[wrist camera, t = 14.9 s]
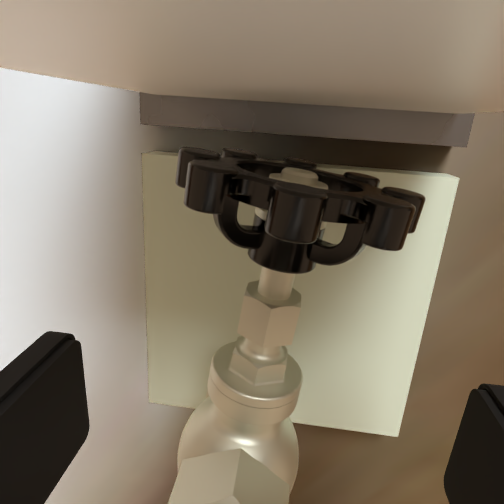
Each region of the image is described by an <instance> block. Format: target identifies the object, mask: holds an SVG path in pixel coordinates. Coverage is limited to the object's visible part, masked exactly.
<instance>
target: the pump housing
mask: <svg viewBox="0 0 504 504" xmlns="http://www.w3.org/2000/svg"><path fill="white" fill-rule="evenodd" d="M0 68H5V69H11V70H17V71H23V72H28V73H34V74H40V75H45V76H51V77H57V78H62V79H68V80H74V81H80V82H85V83H91V84H97V85H102V86H108V87H114V88H120V89H125V90H131V91H137V92H140V120H141V124H144V125H158V126H172V127H187V128H201V129H215V130H229V131H243V132H257V133H271V134H285V135H300V136H314V137H328V138H342V139H356V140H370V141H384V142H399V143H413V144H427V145H441V146H455V147H467V144H468V140H469V135H470V131H471V127H472V123H473V119H474V114H475V113H489V112H504V0H0Z"/></svg>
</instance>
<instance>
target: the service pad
mask: <svg viewBox="0 0 504 504" xmlns="http://www.w3.org/2000/svg"><path fill="white" fill-rule="evenodd" d="M141 154H142V188H143V221H144V255H145V289H146V322H147V356H148V390H149V403H156V404H163V405H171V406H178V407H185V408H192V409H196V408H197V407H198V405H199V404H200V403H202V402H203V401H204V400H205V399H206V394H207V389H208V388H207V384H208V378H209V372H210V366H211V361H212V357H213V355H214V353H215V352H216V351H217V350H218V349H219V348H220V347H222V346H224V345H225V344H227V343H231V342H234V341H237V338H238V337H239V336H242V335H240V334H238V333H237V330H238V325H239V320H240V314H241V309H242V304H243V299H244V294H245V291H246V287H247V284H248V282H252V281H257V280H260V275H261V270H262V266H260V265H258V264H257V263H255V262H254V261H252V260H251V259H250V258H249V256H248V249H244V248H241V247H238V246H235V245H233V244H232V243H231V242H229V241H228V240H227V239H226V238H225V237H224V236H223V235H222V233H221V232H220V231H219V229H218V228H217V226H216V224H215V222H214V218H213V214H207V213H202V212H198V211H194V210H192V209H189V208H188V207H186V206H185V205H184V194H185V189H184V188H181V187H179V186H177V185H176V183H175V180H176V171H177V162H178V153H173V152H160V151H151V152H146V153H141ZM220 157H221V156H220ZM271 161H277V160H271ZM278 162H283V161H278ZM315 164H316V163H315ZM316 165H317V168H316V169H319V170H323V171H327V172H331V173H336V174H342V175H344V173H345V172H356V173H361V174H366V175H370V176H373V177H376V178H378V179H379V180H380V184H379V187H378V188H383V187H396V188H401V189H406V190H410V191H413V192H417V193H419V194H422V195H424V196H425V198H426V200H425V203H424V206H423V209H422V212H421V215H420V218H419V221H418V224H417V227H416V230H415V232H414V233H411V234H407V237H406V240H405V243H404V246H403V248H402V249H401V250H399V251H386V250H380V249H376V248H373V247H370V246H367V245H366V247H365V248H364V250H363V251H362V252H361V253H360V254H359V255H358V256H356V257H354V258H353V259H351V260H349V261H347V262H345V263H342V264H339V265H333V266H327V265H321V264H317V263H316V267H315V268H314V270H312V271H311V272H308V273H303V274H296V275H295V279H294V283H293V287H292V288H294V289H295V290H297V291H298V292H299V293H301V309H300V313H299V317H298V321H297V325H296V329H295V333H294V337H293V341H292V345H285V346H286V347H287V349H288V354H289V355H290V356H292V357H293V358H294V359H295V360H296V362H297V363H298V364H299V366H300V368H301V370H302V374H303V382H302V387H301V390H300V394H299V398H298V401H297V405H296V407H295V409H294V411H293V413H292V414H291V415H290V419H291V421H292V422H294V423H301V424H308V425H315V426H322V427H330V428H337V429H344V430H351V431H359V432H366V433H373V434H380V435H388V436H395V437H398V434H399V430H400V425H401V421H402V417H403V413H404V409H405V404H406V400H407V396H408V392H409V388H410V383H411V379H412V375H413V371H414V367H415V362H416V358H417V354H418V350H419V346H420V341H421V337H422V333H423V329H424V325H425V320H426V316H427V312H428V308H429V304H430V299H431V295H432V291H433V287H434V283H435V278H436V274H437V270H438V266H439V262H440V257H441V253H442V249H443V245H444V240H445V236H446V232H447V228H448V224H449V219H450V215H451V211H452V207H453V203H454V198H455V194H456V190H457V186H458V182H459V178H457V177H455V176H452V175H449V174H446V173H433V172H420V171H407V170H394V169H381V168H368V167H355V166H342V165H329V164H316ZM255 209H256V207H254V206H251V205H248V204H245V203H243V202H240V201H239V206H238V212H237V220H238V223H239V224H241V225H251V226H253V220H254V215H255ZM346 226H347V224H344V223H332V222H327V224H326V227H325V231H324V235H323V239H322V240H324V241H326V242H329V243H332V244H339V243H340V242H341V240H342V239H343V236H344V233H345V229H346Z"/></svg>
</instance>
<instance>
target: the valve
mask: <svg viewBox="0 0 504 504" xmlns="http://www.w3.org/2000/svg"><path fill="white" fill-rule="evenodd" d="M316 168H317V165H316V164H315V163H314V162H311V161H307V160H302V159H297V158H289V157H287V158H284V160H283V162H278V161H271V160H265V159H260V158H257V155H256V154H255V153H252V152H249V151H245V150H240V149H233V148H224V149H223V150H222V154H221V157H220V155H219V154H218V153H216V152H213V151H209V150H204V149H198V148H191V147H182V148H180V149H179V153H178V162H177V171H176V180H175V183H176V185H177V186H179V187H181V188H184V189H185V194H184V205H185V206H186V207H188V208H189V209H192V210H194V211H198V212H202V213H207V214H213V218H214V222H215V224H216V226H217V228H218V229H219V231H220V232H221V233H222V235H223V236H224V237H225V238H226V239H227V240H228V241H229V242H231V243H232V244H233V245H235V246H238V247H241V248H244V249H248V256H249V258H250V259H251V260H252V261H254V262H255V263H257V264H258V265H260V266H262V270H261V275H260V280H257V281H252V282H248V284H247V287H246V291H245V294H244V299H243V304H242V309H241V314H240V320H239V325H238V330H237V333H238V334H240V335H242V336H239V337H238V338H237V341H234V342H231V343H227V344H225V345H224V346H222V347H220V348H219V349H218V350H217V351H216V352H215V353H214V355H213V357H212V361H211V366H210V372H209V378H208V384H207V388H208V389H207V394H206V399H205V400H204V401H203V402H202V403H200V404H199V405H198V407H197V408H196V409H195V410H194V412H193V413H192V414H191V416H190V417H189V419H188V421H187V423H186V425H185V427H184V429H183V432H182V435H181V439H180V443H179V447H178V457H177V464H178V475H177V478H176V481H175V484H174V487H173V490H172V493H171V496H170V498H169V501H168V504H289V495H290V493H291V490H292V488H293V485H294V482H295V479H296V476H297V472H298V464H299V446H298V440H297V435H296V432H295V429H294V426H293V423H292V421H291V419H290V415H291V414H292V413H293V411H294V409H295V407H296V405H297V401H298V398H299V394H300V390H301V387H302V382H303V374H302V370H301V368H300V366H299V364H298V363H297V362H296V360H295V359H294V358H293V357H292V356H290V355H289V354H288V349H287V347H286V346H285V345H292V341H293V337H294V333H295V329H296V325H297V321H298V317H299V313H300V309H301V293H299V292H298V291H297V290H295V289H294V288H292V287H293V283H294V279H295V275H296V274H303V273H308V272H311V271H312V270H314V268H315V267H316V263H317V264H321V265H327V266H333V265H339V264H342V263H345V262H347V261H349V260H351V259H353V258H354V257H356V256H358V255H359V254H360V253H361V252H362V251H363V250H364V248H365V247H366V245H367V246H370V247H373V248H376V249H380V250H386V251H399V250H401V249H402V248H403V246H404V243H405V240H406V237H407V234H411V233H414V232H415V230H416V227H417V224H418V221H419V218H420V215H421V212H422V209H423V206H424V203H425V200H426V198H425V196H424V195H422V194H419V193H417V192H413V191H410V190H406V189H401V188H396V187H383V188H378V187H379V184H380V180H379V179H378V178H376V177H373V176H370V175H366V174H361V173H356V172H345V173H344V175H342V174H336V173H331V172H327V171H323V170H319V169H316ZM239 201H240V202H243V203H245V204H248V205H251V206H254V207H256V209H255V215H254V220H253V226H251V225H241V224H239V223H238V220H237V212H238V206H239ZM327 222H332V223H344V224H347V226H346V229H345V233H344V236H343V239H342V240H341V242H340V243H339V244H332V243H329V242H326V241H324V240H322V239H323V235H324V231H325V227H326V224H327Z"/></svg>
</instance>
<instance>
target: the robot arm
mask: <svg viewBox="0 0 504 504" xmlns="http://www.w3.org/2000/svg"><path fill="white" fill-rule="evenodd" d="M88 432H89V417H88V407H87V398H86V388H85V379H84V369H83V360H82V350H81V344H80V342H79V341H77V340H75V337H74V336H73V335H72V334H69V333H61V332H52V331H49V332H46V333H44V334H43V335H42V336H41V337H40V338H39V339H37V340H36V341H35V342H34V343H33V344H32V345H30V346H29V347H28V348H27V349H26V350H25V351H23V352H22V353H21V354H20V355H19V356H18V357H17V358H15V359H14V360H13V361H12V362H11V363H10V364H8V365H7V366H6V367H5V368H4V369H3V370H2V371H0V504H44V503H45V501H46V500H47V498H48V497H49V495H50V494H51V492H52V491H53V489H54V488H55V486H56V485H57V483H58V482H59V480H60V478H61V477H62V475H63V474H64V472H65V471H66V469H67V468H68V466H69V465H70V463H71V462H72V460H73V459H74V457H75V455H76V454H77V452H78V451H79V449H80V448H81V446H82V445H83V443H84V442H85V440H86V438H87V435H88ZM444 488H445V492H446V495H447V498H448V501H449V503H450V504H504V386H501V385H492V384H481V385H480V386H479V388H478V389H473V390H472V391H471V393H470V395H469V398H468V401H467V404H466V408H465V411H464V414H463V417H462V420H461V424H460V427H459V430H458V433H457V436H456V439H455V443H454V446H453V449H452V452H451V455H450V459H449V462H448V465H447V468H446V471H445V475H444Z"/></svg>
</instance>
